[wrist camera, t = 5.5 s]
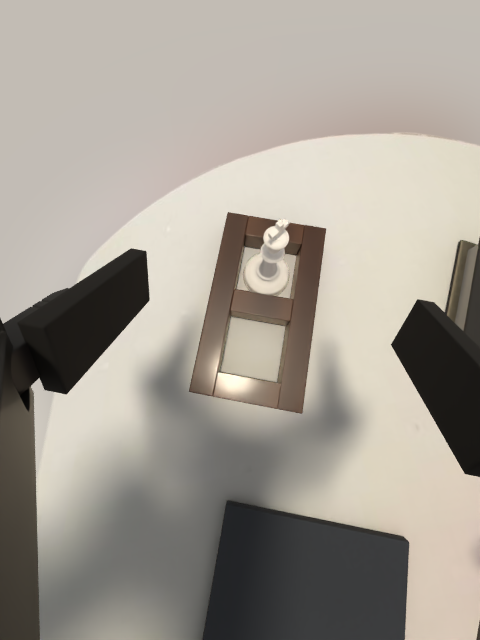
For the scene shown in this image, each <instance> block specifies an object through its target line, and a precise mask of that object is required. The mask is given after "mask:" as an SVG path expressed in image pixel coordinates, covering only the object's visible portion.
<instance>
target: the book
mask: <svg viewBox="0 0 480 640" xmlns="http://www.w3.org/2000/svg"><path fill="white" fill-rule="evenodd" d="M446 315H447V316H448V317H449V318H450V319H451V320H452V321H453V322H454V323H455V324H456V325H457V326H459V327H460V328H461V329H462V330H463V331H464V332H465V333H466V334H467V335H468V336H469V337H470V338H471V339H472V340H473V341H474V342H475V343H476V344H477V345H478V346H479V347H480V238H479V244H478V245H476V244H473V243H470V242H467V241H463V240H461V241H460V242H459V246H458V251H457V256H456V262H455V267H454V272H453V277H452V283H451V288H450V293H449V298H448V304H447V309H446Z"/></svg>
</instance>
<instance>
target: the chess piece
mask: <svg viewBox="0 0 480 640" xmlns="http://www.w3.org/2000/svg"><path fill="white" fill-rule="evenodd" d="M288 225H289V222H288V221H287V220H286V219H284V220H283V221H282V220H281V219H280V220H279V221H278V222H276V225H275V226H272V227H270V228H268V229H267V230H266V231H265V233H264V236H263V240H264V244H263V245H262V247H261V249H260V253H258V254H256V255H254V256H253V257H251V258H250V259H249V261H248V262H247V264H246V266H245V268H244V272H243V278H244V282H245V284H246V286H247V288H248V289H249V290H250V291H251V292H255V293H260V294H266V295H271V296H276V295H278V294H279V293H281V292H282V291H283V290H284V289H285V288H286V286H287V284H288V281H289V268H288V265H287V263H286V262H285V261H284V259H283V257H284V255H285V250H284V248H285V247H286V246H287V244H288V242H289V235H288V232H287V231H286V230H285V228H286V227H288Z"/></svg>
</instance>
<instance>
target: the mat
mask: <svg viewBox="0 0 480 640" xmlns="http://www.w3.org/2000/svg"><path fill="white" fill-rule="evenodd" d="M408 555H409V542H408V541H407V540H406V539H405V538H404V537H402V536H397V535H392V534H387V533H382V532H378V531H373V530H368V529H363V528H358V527H353V526H348V525H344V524H339V523H334V522H329V521H324V520H319V519H314V518H309V517H305V516H300V515H295V514H290V513H285V512H280V511H275V510H271V509H266V508H261V507H256V506H251V505H246V504H241V503H236V502H232V501H227V503H226V509H225V514H224V520H223V526H222V532H221V537H220V543H219V549H218V555H217V560H216V566H215V572H214V578H213V583H212V589H211V595H210V601H209V606H208V612H207V618H206V623H205V629H204V635H203V640H405V619H406V598H407V576H408Z"/></svg>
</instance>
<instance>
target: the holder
mask: <svg viewBox="0 0 480 640" xmlns="http://www.w3.org/2000/svg"><path fill="white" fill-rule="evenodd" d="M276 222H278V221H277V220H271V219H265V218H259V217H253V216H249V217H248V216H247V215H241V214H235V213H229V212H228V214H227V218H226V223H225V227H224V232H223V237H222V241H221V246H220V250H219V255H218V260H217V264H216V269H215V273H214V278H213V283H212V287H211V292H210V297H209V301H208V306H207V310H206V315H205V320H204V324H203V329H202V333H201V338H200V343H199V347H198V352H197V356H196V361H195V366H194V370H193V375H192V379H191V384H190V389H189V392H193V393H198V394H203V395H208V396H213V397H218V398H223V399H229V400H234V401H239V402H244V403H249V404H255V405H260V406H265V407H270V408H275V409H281V410H286V411H291V412H296V413H302V410H303V403H304V395H305V387H306V379H307V372H308V364H309V356H310V349H311V341H312V333H313V326H314V318H315V310H316V303H317V295H318V287H319V279H320V272H321V264H322V256H323V249H324V241H325V233H326V229H325V228H319V227H313V226H307V225H305V226H304V225H300V224H294V223H289V225H288V227H286V228H285V230H286V231H287V232H288V235H289V242H288V244H287V246H286V247H285V248H284V250H285V253H287V254H293V255H297V256H296V263H295V269H294V276H293V283H292V289H291V296H290V299H288V298H283V297H277V296H271V295H266V294H260V293H255V292H249V291H243V290H238V289H236V286H237V281H238V276H239V271H240V266H241V261H242V256H243V251H244V246H247V247H253V248H258V249H261V247H262V245H263V244H264V240H263V236H264V233H265V231H266V230H267V229H268V228H270V227H272V226H275V225H276ZM231 316H234V317H239V318H245V319H250V320H256V321H261V322H267V323H272V324H278V325H284V326H286V329H285V335H284V342H283V348H282V355H281V362H280V368H279V375H278V381H277V383H276V382H270V381H265V380H260V379H255V378H249V377H244V376H239V375H233V374H228V373H223V372H220V368H221V363H222V358H223V353H224V347H225V342H226V337H227V332H228V327H229V322H230V317H231Z"/></svg>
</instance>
